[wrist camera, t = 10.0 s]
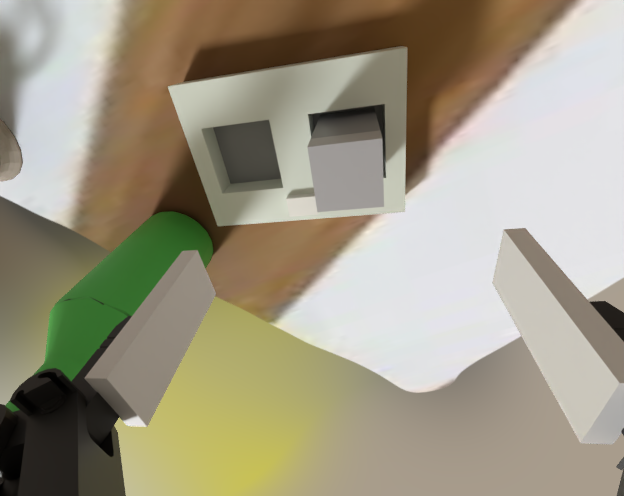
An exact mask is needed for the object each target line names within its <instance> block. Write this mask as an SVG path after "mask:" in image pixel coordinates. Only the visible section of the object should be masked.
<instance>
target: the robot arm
mask: <svg viewBox="0 0 624 496" xmlns="http://www.w3.org/2000/svg"><path fill="white" fill-rule="evenodd" d="M492 283H493V285H494V287H495V289H496V290H497V292H498V294H499V296H500V298H501V299H502V301H503V303H504V305H505V307H506V309H507V310H508V312H509V314H510V316H511V318H512V319H513V321H514V323H515V325H516V327H517V329H518V330H519V332H520V334H521V336H522V338H523V339H524V341H525V343H526V345H527V347H528V348H529V350H530V352H531V354H532V356H533V358H534V359H535V361H536V363H537V365H538V367H539V368H540V370H541V372H542V374H543V376H544V378H545V379H546V381H547V383H548V385H549V387H550V389H551V390H552V392H553V394H554V396H555V398H556V399H557V401H558V403H559V405H560V407H561V408H562V410H563V412H564V414H565V416H566V417H567V419H568V421H569V423H570V425H571V427H572V428H573V430H574V432H575V434H576V436H577V438H578V439H579V441H580V443H590V444H613V443H614V442H615V441H616V440H617V438H618V437H619V436H620V435H621V433H622V434H623V435H624V313H623V312H622V311H620V310H618V309H617V308H615V307H613V306H612V305H611V304H609V303H607V302H606V301H598V302H589V301H588V300H587V299H586V298H585V297H584V295H583V294H582V293H581V292H580V291H579V290H578V289H577V287H576V286H575V285H574V284H573V283H572V282H571V280H570V279H569V278H568V277H567V276H566V275H565V274H564V272H563V271H562V270H561V269H560V268H559V267H558V265H557V264H556V263H555V262H554V261H553V260H552V259H551V257H550V256H549V255H548V254H547V253H546V252H545V250H544V249H543V248H542V247H541V246H540V245H539V244H538V242H537V241H536V240H535V239H534V238H533V237H532V235H531V234H530V233H529V232H528V231H527V230H526V229H525V228H520V229H505V230H504V231H503V236H502V240H501V245H500V250H499V254H498V259H497V264H496V268H495V273H494V278H493V282H492ZM215 295H216V293H215V290H214V288H213V286H212V283H211V281H210V279H209V276H208V274H207V271H206V269H205V267H204V264H203V262H202V260H201V257H200V255H199V252H198V250H190V251H182V252H181V254H180V255H179V256H178V257H177V259H176V260H175V261H174V263H173V264H172V265H171V266H170V268H169V269H168V270H167V272H166V273H165V274H164V276H163V277H162V278H161V279H160V281H159V282H158V283H157V285H156V286H155V287H154V288H153V290H152V291H151V292H150V294H149V295H148V296H147V298H146V299H145V300H144V301H143V303H142V304H141V305H140V307H139V308H138V309H137V311H136V312H135V313H134V314H133V316H128V317H126V318H125V319H124V320H123V321H121V322H120V323H119V324H118V325H116V326H115V328H114V329H113V330H112V331H111V333H110V334H109V335H108V336H107V339H105V340H104V341H103V343H102V344H101V345H100V348H99V349H97V350H96V351H95V353H94V354H93V355H92V356H91V358H90V359H89V360H88V361H87V363H86V364H85V365H84V366H83V368H82V369H81V370H80V371H79V373H78V374H77V375H76V376H75V378H74V379H73V380H72V381H70V380H69V379H68V377H67V376H66V375H65V374H64V373H63V372H62V371H61V370H59V369H57V368H51V369H46V370H43V371H41V372H38V373H37V374H35V375H33V376H32V377H30V378H28V379H27V380H26V381H25V382H24V383H22V384H21V385H20V386H19V387H18V389H17V390H16V391H15V392H14V393H13V395H12V397H11V399H10V402H11V403H12V404H14V405H15V406H16V407H17V408H18V409H20V410H17V411H14V412H12V411H11V410H10V409H9V408H7V407H6V406H5V405H2V404H0V496H126V495H125V487H124V479H123V471H122V463H121V456H120V448H119V440H118V432H117V430H116V428H115V427H114V424H115V423H116V421H117V420H118V418H119V417H120V418H121V419H122V420H123V422H124V423H125V424H126V425H127V426H141V427H147V426H148V424H149V422H150V420H151V418H152V416H153V415H154V413H155V411H156V409H157V407H158V405H159V403H160V401H161V399H162V397H163V395H164V393H165V391H166V390H167V387H168V386H169V384H170V382H171V380H172V378H173V376H174V374H175V372H176V370H177V368H178V366H179V364H180V363H181V361H182V359H183V357H184V355H185V353H186V351H187V349H188V347H189V345H190V343H191V341H192V339H193V337H194V336H195V334H196V332H197V330H198V328H199V326H200V324H201V322H202V320H203V318H204V316H205V314H206V312H207V310H208V309H209V307H210V305H211V303H212V301H213V299H214V297H215ZM617 468H619V469H620V470H622V469H623V468H624V457H623V459H622V460H621V461H620V462H619V464H618V465H617ZM617 496H624V469H623V473H622V477H621V481H620V485H619V489H618V493H617Z"/></svg>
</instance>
